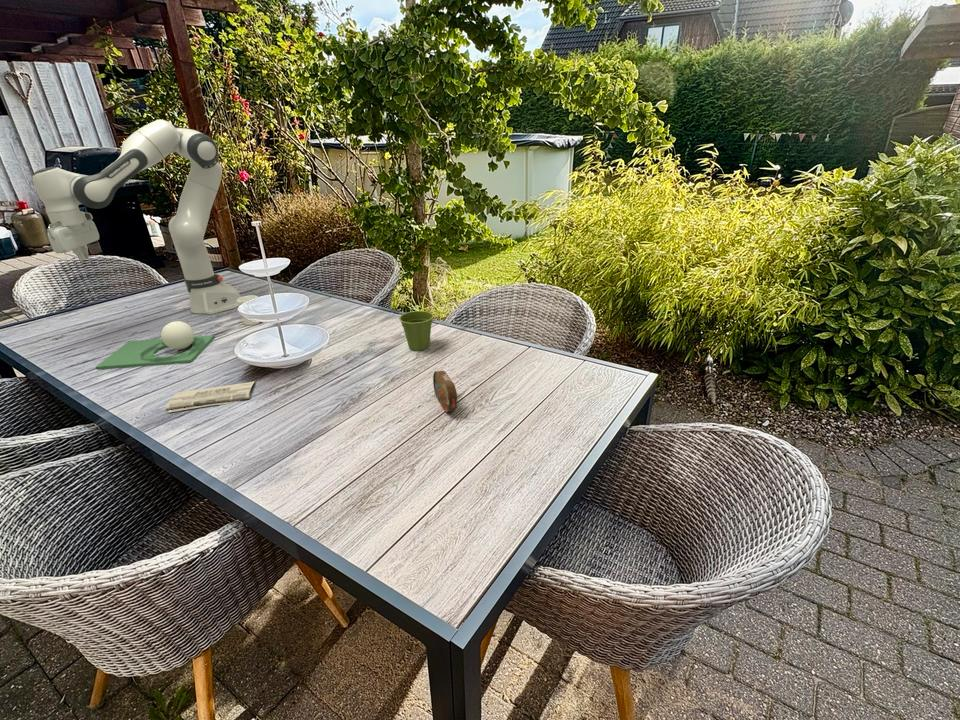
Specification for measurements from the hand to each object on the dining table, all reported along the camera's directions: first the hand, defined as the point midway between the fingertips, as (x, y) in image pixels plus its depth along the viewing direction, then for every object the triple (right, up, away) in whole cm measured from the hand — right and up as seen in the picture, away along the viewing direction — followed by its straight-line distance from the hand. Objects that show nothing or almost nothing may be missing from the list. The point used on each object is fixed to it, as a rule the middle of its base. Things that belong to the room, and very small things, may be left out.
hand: (84, 259), depth 169 cm
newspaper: (+61, -47, -28) cm, 82 cm away
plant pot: (+117, -31, 0) cm, 121 cm away
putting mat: (+26, -33, +1) cm, 42 cm away
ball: (+32, -27, +2) cm, 41 cm away
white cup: (+48, -20, +25) cm, 57 cm away
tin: (+129, -48, -34) cm, 142 cm away
